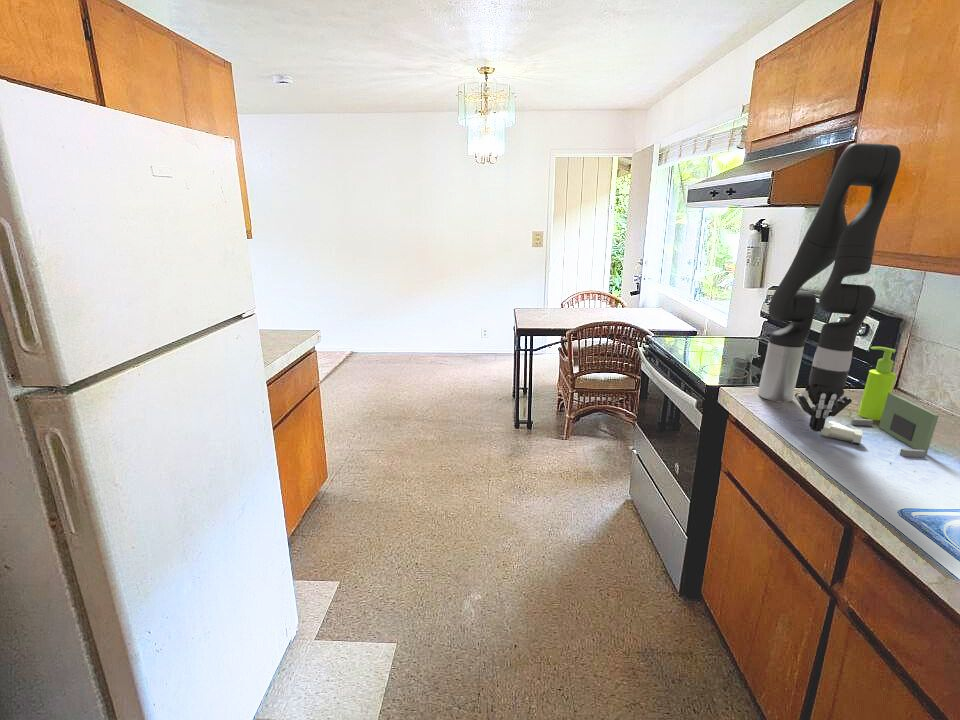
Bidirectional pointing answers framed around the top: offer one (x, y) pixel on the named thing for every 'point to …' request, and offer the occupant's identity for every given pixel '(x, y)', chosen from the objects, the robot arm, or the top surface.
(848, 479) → the top surface
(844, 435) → the pipe fitting
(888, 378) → the soap dispenser
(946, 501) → the top surface
